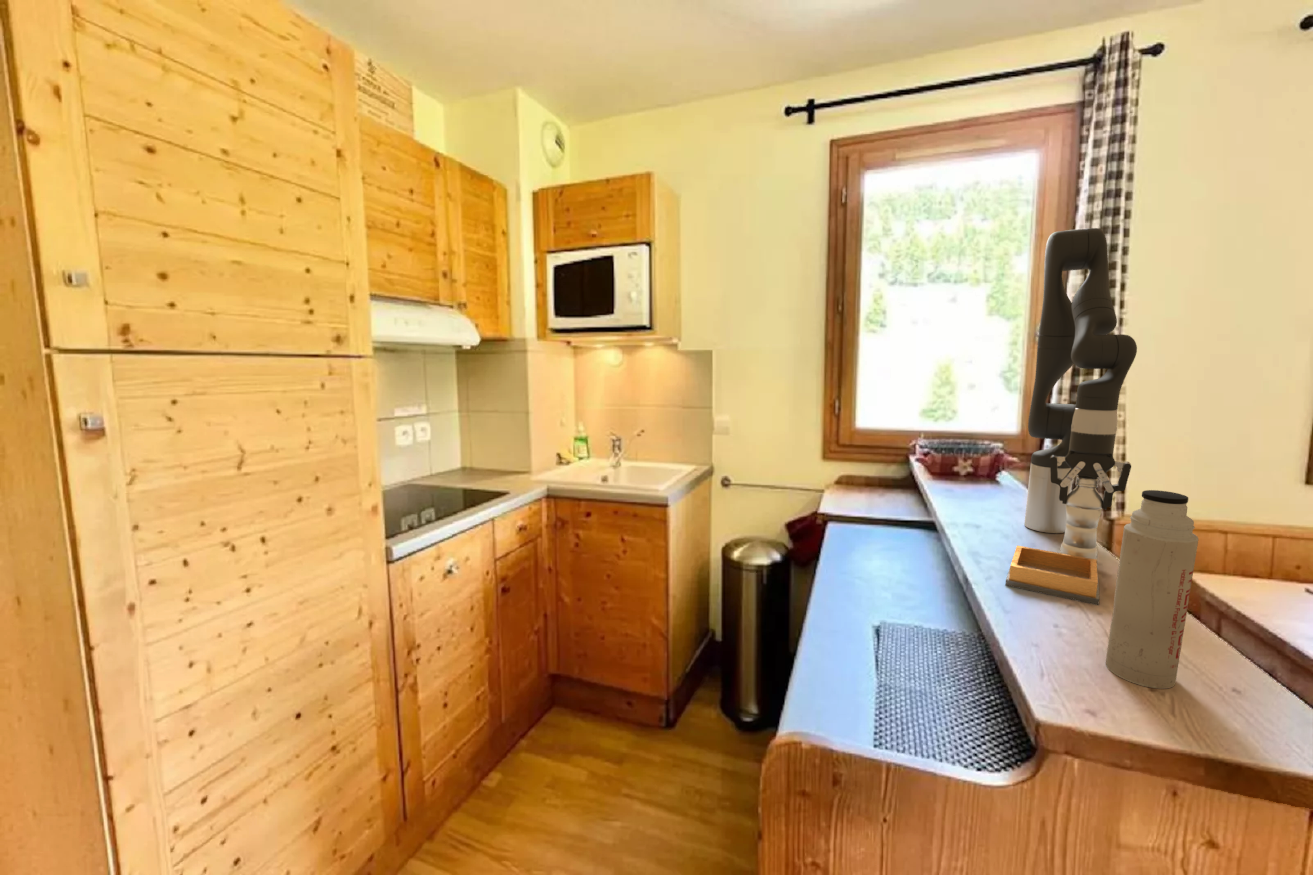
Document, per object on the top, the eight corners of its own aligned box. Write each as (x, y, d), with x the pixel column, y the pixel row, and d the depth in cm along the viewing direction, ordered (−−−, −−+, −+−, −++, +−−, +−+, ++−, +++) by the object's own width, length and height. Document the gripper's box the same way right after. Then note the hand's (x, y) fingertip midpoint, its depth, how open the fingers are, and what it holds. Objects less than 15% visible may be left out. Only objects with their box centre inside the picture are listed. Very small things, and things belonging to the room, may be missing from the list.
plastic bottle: (1102, 571, 119) (1114, 481, 115) (1067, 569, 120) (1078, 480, 117) (1086, 560, 125) (1097, 474, 122) (1052, 558, 126) (1062, 473, 123)
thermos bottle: (1186, 680, 81) (1217, 496, 77) (1156, 694, 78) (1186, 504, 73) (1123, 653, 89) (1147, 483, 84) (1093, 665, 85) (1117, 489, 81)
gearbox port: (1012, 561, 125) (1014, 544, 124) (1097, 578, 116) (1099, 559, 115) (1005, 585, 113) (1007, 565, 113) (1098, 605, 104) (1101, 584, 104)
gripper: (1136, 430, 116) (1126, 507, 119) (1052, 425, 125) (1044, 496, 127) (1139, 435, 110) (1128, 516, 113) (1051, 429, 119) (1042, 504, 122)
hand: (1083, 505), depth 120 cm, fingers closed on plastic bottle, 6 cm apart
